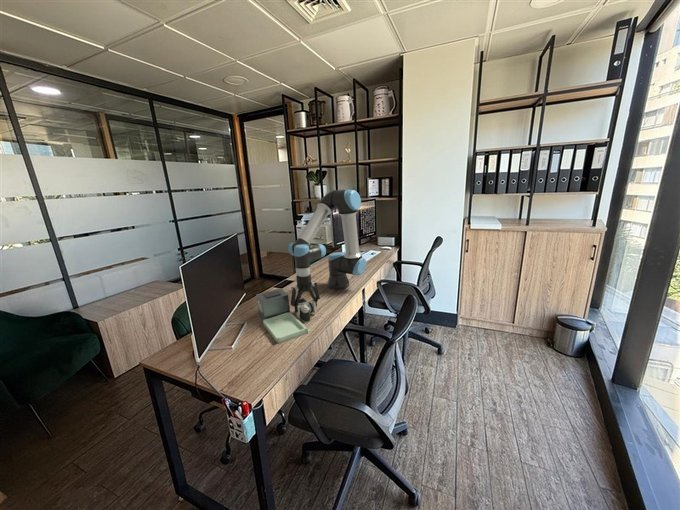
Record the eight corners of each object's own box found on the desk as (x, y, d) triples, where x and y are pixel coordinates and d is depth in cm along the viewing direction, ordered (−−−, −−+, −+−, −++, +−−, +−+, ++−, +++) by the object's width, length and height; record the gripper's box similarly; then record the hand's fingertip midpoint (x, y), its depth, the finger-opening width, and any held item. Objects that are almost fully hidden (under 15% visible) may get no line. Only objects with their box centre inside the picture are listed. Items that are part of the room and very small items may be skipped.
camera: (319, 319, 145) (317, 301, 143) (304, 324, 141) (302, 306, 139) (307, 308, 159) (305, 292, 156) (293, 312, 155) (291, 295, 152)
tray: (290, 316, 150) (289, 311, 150) (307, 333, 132) (307, 328, 132) (263, 324, 143) (262, 320, 142) (277, 343, 125) (277, 339, 124)
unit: (284, 307, 162) (282, 287, 159) (292, 314, 152) (290, 293, 149) (258, 314, 154) (255, 293, 151) (264, 323, 144) (261, 301, 141)
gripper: (318, 268, 151) (320, 306, 157) (281, 276, 141) (285, 317, 146) (325, 272, 145) (327, 311, 151) (286, 280, 134) (290, 323, 140)
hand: (306, 314), depth 149 cm, fingers closed on camera, 9 cm apart
